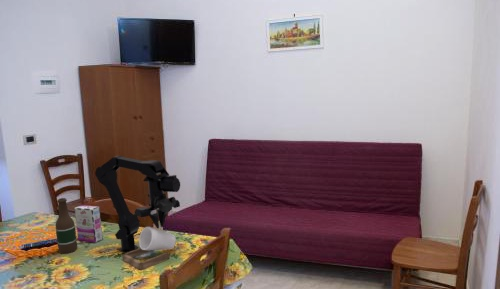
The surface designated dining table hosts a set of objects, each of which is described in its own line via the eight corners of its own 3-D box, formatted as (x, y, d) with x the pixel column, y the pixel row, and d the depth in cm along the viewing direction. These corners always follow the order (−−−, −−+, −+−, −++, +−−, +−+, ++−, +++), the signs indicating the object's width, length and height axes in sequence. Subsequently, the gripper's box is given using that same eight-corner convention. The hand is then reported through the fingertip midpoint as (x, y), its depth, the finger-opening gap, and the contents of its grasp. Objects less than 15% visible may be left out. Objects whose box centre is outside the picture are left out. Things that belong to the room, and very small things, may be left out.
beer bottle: (81, 248, 178) (75, 197, 174) (67, 255, 171) (60, 202, 167) (69, 246, 181) (63, 195, 177) (54, 252, 174) (47, 200, 170)
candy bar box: (103, 239, 187) (99, 206, 185) (95, 243, 183) (92, 209, 180) (85, 236, 192) (81, 204, 189) (77, 240, 187) (73, 207, 184)
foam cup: (178, 250, 165) (152, 247, 156) (164, 255, 170) (138, 252, 161) (177, 228, 169) (152, 224, 160) (164, 233, 174) (139, 229, 165)
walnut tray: (122, 260, 163) (122, 254, 163) (150, 249, 172) (149, 244, 172) (140, 270, 153) (140, 264, 153) (169, 258, 162) (168, 252, 162)
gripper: (146, 199, 151) (150, 238, 153) (186, 188, 164) (189, 224, 166) (132, 195, 159) (136, 232, 161) (170, 186, 172) (174, 220, 174)
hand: (159, 227), depth 165 cm, fingers closed
